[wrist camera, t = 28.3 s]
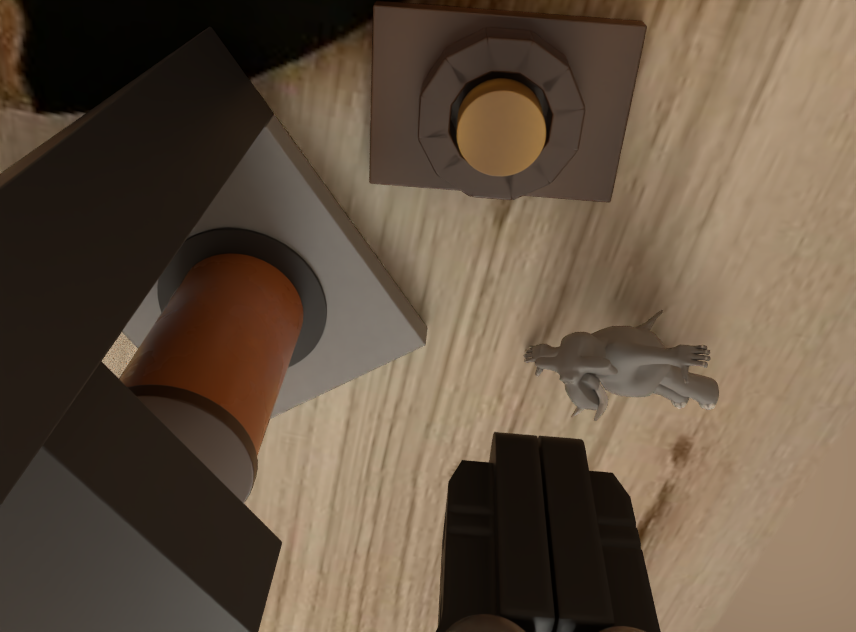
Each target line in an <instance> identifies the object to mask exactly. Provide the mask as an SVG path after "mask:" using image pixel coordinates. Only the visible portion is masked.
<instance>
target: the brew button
mask: <svg viewBox="0 0 856 632" xmlns="http://www.w3.org/2000/svg"><path fill="white" fill-rule="evenodd" d="M545 139H546V124H545V119H544V115H543V111H542V107H541V104H540V102H539V100H538V98H537V96H536V95H535V93H534V92H533V91H532V90H531V89H530V88H528V87H527V86H526V85H524V84H523V83H521V82H518V81H516V80H513V79H507V78H496V79H491V80H487V81H485V82H482V83H481V84H479V85H477V86H476V87H474V88H473V89H472V90H471V91H470V92H469V93H468V94H467V95H466V97H465V98H464V100H463V101H462V103H461V106H460V108H459V112H458V117H457V143H458V147H459V150H460V152H461V154H462V156H463V158H464V159H465V160H466V161H467V163H468V164H469V165H471V166H472V167H473V168H474V169H476V170H478V171H479V172H482V173H484V174H487V175H491V176H509V175H513V174H516V173H519V172H521V171H523V170H524V169H526V168H527V167H529V166H530V165H531V164H532V163H533V162H534V161H535V160H536V159H537V158H538V156H539V155H540V153H541V151H542V149H543V146H544V144H545Z"/></svg>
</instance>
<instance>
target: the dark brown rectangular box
mask: <svg viewBox="0 0 856 632" xmlns="http://www.w3.org/2000/svg"><path fill="white" fill-rule="evenodd" d="M228 253H229V254H243V255H248V256H252V257H255V258H258V259H261V260H263V261H265V262H267V263H269V264H271V265H272V266H274V267H275V268H277V269H278V270H279V271H280V272H282V273H283V274H284V275H285V276H286V277H287V278H288V279H289V280H290V282H291V283H292V284H293V286H294V287H295V289H296V291H297V292H298V294H299V297H300V299H301V303H302V306H303V324H302V328H301V331H300V334H299V337H298V339H297V342H296V345H295V348H294V351H293V354H292V357H291V360H290V363H289V366H288V368H287V371H286V374H285V377H284V380H283V383H282V386H281V389H280V392H279V394H278V397H277V400H276V403H275V406H274V409H273V412H272V415H271V418H273V417H275V416H277V415H279V414H281V413H283V412H285V411H288V410H290V409H292V408H294V407H296V406H298V405H300V404H302V403H304V402H307V401H309V400H311V399H313V398H315V397H317V396H319V395H321V394H323V393H326V392H328V391H330V390H332V389H334V388H336V387H338V386H340V385H342V384H345V383H347V382H349V381H351V380H353V379H355V378H357V377H359V376H361V375H364V374H366V373H368V372H370V371H372V370H374V369H376V368H378V367H380V366H383V365H385V364H387V363H389V362H391V361H393V360H395V359H397V358H400V357H402V356H404V355H406V354H408V353H410V352H412V351H414V350H416V349H419V348H421V347H423V346H425V345H426V335H427V327H426V325H425V324H424V322H423V321H422V320H421V318H420V317H419V316H418V314H417V313H416V311H415V310H414V309H413V307H412V306H411V304H410V303H409V302H408V300H407V299H406V297H405V296H404V295H403V293H402V292H401V290H400V289H399V288H398V286H397V285H396V283H395V282H394V281H393V279H392V278H391V277H390V275H389V274H388V272H387V271H386V270H385V268H384V267H383V265H382V264H381V263H380V261H379V260H378V258H377V257H376V256H375V254H374V253H373V251H372V250H371V249H370V247H369V246H368V245H367V243H366V242H365V240H364V239H363V238H362V236H361V235H360V233H359V232H358V231H357V229H356V228H355V226H354V225H353V224H352V222H351V221H350V219H349V218H348V217H347V215H346V214H345V212H344V211H343V210H342V208H341V207H340V206H339V204H338V203H337V201H336V200H335V199H334V197H333V196H332V194H331V193H330V192H329V190H328V189H327V187H326V186H325V185H324V183H323V182H322V180H321V179H320V178H319V176H318V175H317V173H316V172H315V171H314V169H313V168H312V167H311V165H310V164H309V162H308V161H307V160H306V158H305V157H304V155H303V154H302V153H301V151H300V150H299V148H298V147H297V146H296V144H295V143H294V141H293V140H292V139H291V137H290V136H289V135H288V133H287V132H286V130H285V129H284V128H283V126H282V125H281V123H280V122H279V121H278V119H277V118H276V116H275V115H273V112H272V111H271V109H270V108H269V107H268V105H267V104H266V102H265V101H264V100H263V98H262V97H261V95H260V94H259V93H258V91H257V90H256V89H255V87H254V86H253V84H252V83H251V82H250V80H249V79H248V77H247V76H246V75H245V73H244V72H243V70H242V69H241V68H240V66H239V65H238V63H237V62H236V61H235V59H234V58H233V56H232V55H231V54H230V52H229V51H228V50H227V48H226V47H225V45H224V44H223V43H222V41H221V40H220V38H219V37H218V36H217V34H216V33H215V31H214V30H213V29H212V27H208V28H207V29H205V30H204V31H202V32H201V33H200V34H198V35H197V36H195V37H194V38H193V39H191V40H190V41H188V42H187V43H185V44H184V45H183V46H181V47H180V48H178V49H177V50H175V51H174V52H173V53H171V54H170V55H168V56H167V57H166V58H164V59H163V60H161V61H160V62H158V63H157V64H156V65H154V66H153V67H151V68H150V69H148V70H147V71H146V72H144V73H143V74H141V75H140V76H139V77H137V78H136V79H134V80H133V81H131V82H130V83H129V84H127V85H126V86H124V87H123V88H121V89H120V90H119V91H117V92H116V93H114V94H113V95H111V96H110V97H109V98H107V99H106V100H104V101H103V102H102V103H100V104H99V105H97V106H96V107H94V108H93V109H92V110H90V111H89V112H87V113H86V114H84V115H83V116H82V117H80V118H79V119H77V120H76V121H75V122H73V123H72V124H70V125H69V126H67V127H66V128H65V129H63V130H62V131H60V132H59V133H57V134H56V135H55V136H53V137H52V138H50V139H49V140H48V141H46V142H45V143H43V144H42V145H40V146H39V147H38V148H36V149H35V150H33V151H32V152H30V153H29V154H28V155H26V156H25V157H23V158H22V159H21V160H19V161H18V162H16V163H15V164H13V165H12V166H11V167H9V168H8V169H6V170H5V171H3V172H2V173H1V174H0V632H258V631H259V627H260V623H261V619H262V616H263V612H264V608H265V605H266V601H267V597H268V593H269V590H270V586H271V582H272V579H273V575H274V571H275V567H276V564H277V560H278V556H279V553H280V549H281V545H282V541H281V540H280V539H279V538H278V537H277V536H276V535H275V534H274V533H273V532H272V531H271V530H270V529H269V528H268V527H267V526H266V525H265V524H264V523H263V522H262V521H261V520H260V519H259V518H258V517H257V516H256V515H255V514H254V513H253V512H252V511H251V510H250V509H249V508H248V507H247V506H246V505H245V504H244V503H243V502H242V501H241V500H240V499H239V498H238V497H237V496H236V495H235V494H234V493H233V492H232V491H231V490H230V489H229V488H228V487H227V486H226V485H225V484H224V483H223V482H222V481H221V480H220V479H219V478H218V477H217V476H216V475H215V474H214V473H213V472H212V471H211V470H210V469H209V468H208V467H207V466H206V465H205V464H204V463H203V462H202V461H201V460H200V459H199V458H198V457H197V456H196V455H195V454H194V453H193V452H192V451H191V450H190V449H189V448H188V447H187V446H186V445H185V444H184V443H183V442H182V441H181V440H180V439H179V438H178V437H177V436H176V435H175V434H174V433H173V432H172V431H171V430H170V429H169V428H168V427H167V426H166V425H165V424H164V423H163V422H162V421H161V420H160V419H159V418H158V417H157V416H156V415H155V414H154V413H153V412H152V411H151V410H150V409H149V408H148V407H147V406H146V405H145V404H144V403H143V402H142V401H141V400H140V399H139V398H138V397H137V396H135V395H134V394H133V393H132V392H131V391H130V390H129V389H128V388H127V387H126V386H125V385H124V384H123V383H122V382H121V381H120V380H119V379H118V378H117V377H116V376H115V375H114V374H113V373H112V372H111V371H110V370H109V369H108V368H107V367H106V366H105V365H104V364H103V363H102V362H101V361H102V359H103V358H104V357H105V355H106V354H107V352H108V351H109V349H110V348H111V347H112V345H113V344H114V342H115V341H116V339H117V338H118V336H119V335H120V334H121V332H123V333H124V334H125V335H126V336H127V337H128V338H129V340H130V341H131V342H132V343H133V344H134V345H135V346H136V347H137V348H139V347H140V345H141V344H142V342H143V341H144V339H145V337H146V336H147V334H148V333H149V331H150V330H151V328H152V327H153V325H154V323H155V322H156V320H157V319H158V317H159V316H160V314H161V313H162V311H163V309H164V308H165V306H166V305H167V303H168V302H169V300H170V299H171V297H172V295H173V294H174V292H175V291H176V289H177V288H178V286H179V285H180V283H181V281H182V280H183V278H184V277H185V275H186V274H187V272H188V271H189V270H190V269H191V268H192V267H193V266H194V265H196V264H197V263H198V262H200V261H202V260H204V259H206V258H209V257H211V256H215V255H220V254H228ZM271 418H270V419H271Z"/></svg>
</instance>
